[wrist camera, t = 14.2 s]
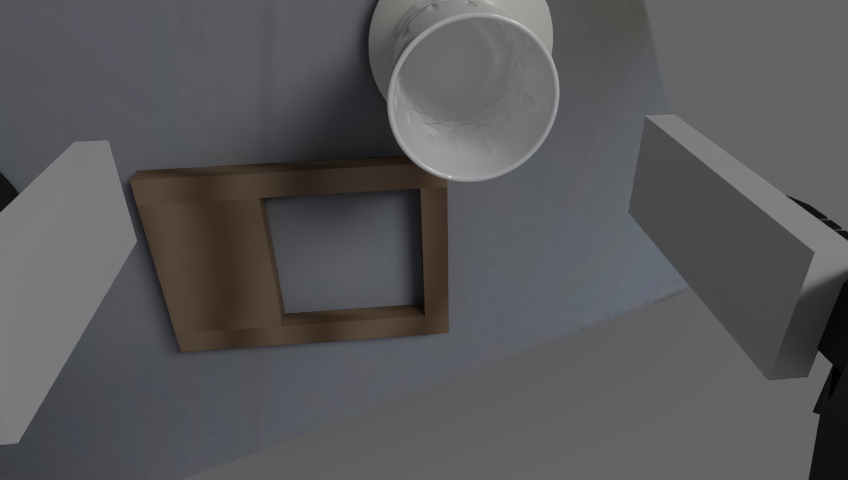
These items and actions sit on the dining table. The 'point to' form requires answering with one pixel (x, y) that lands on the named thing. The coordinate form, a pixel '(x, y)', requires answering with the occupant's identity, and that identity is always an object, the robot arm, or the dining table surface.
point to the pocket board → (254, 256)
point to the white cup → (469, 90)
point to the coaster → (395, 3)
